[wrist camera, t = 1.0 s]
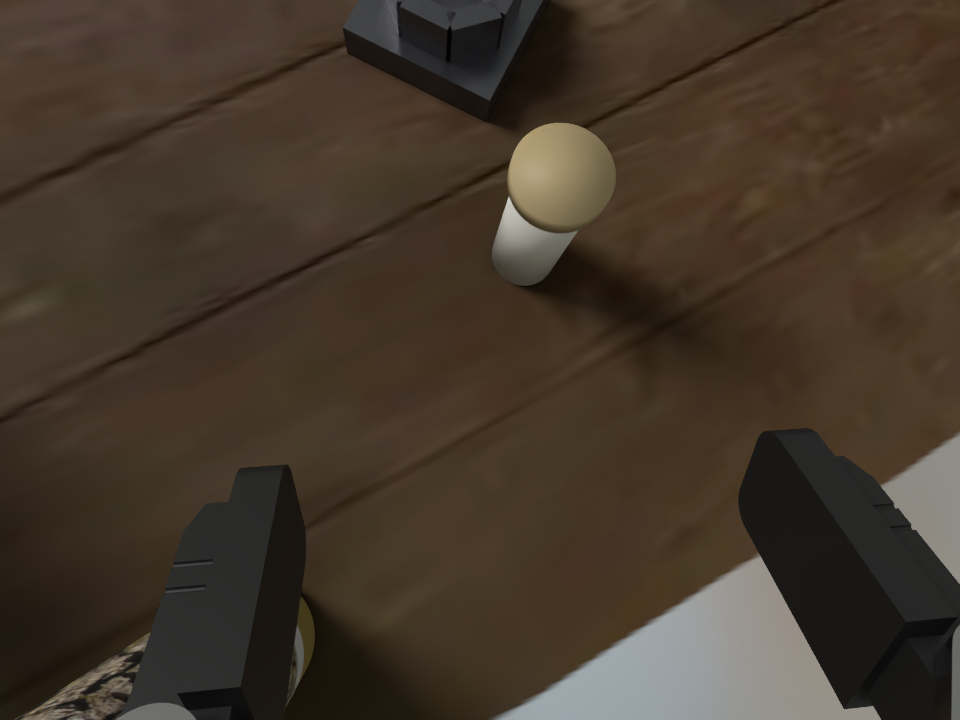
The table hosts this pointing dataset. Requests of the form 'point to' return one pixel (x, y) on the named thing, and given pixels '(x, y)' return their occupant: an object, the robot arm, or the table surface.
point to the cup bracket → (445, 44)
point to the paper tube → (105, 689)
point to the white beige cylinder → (550, 199)
